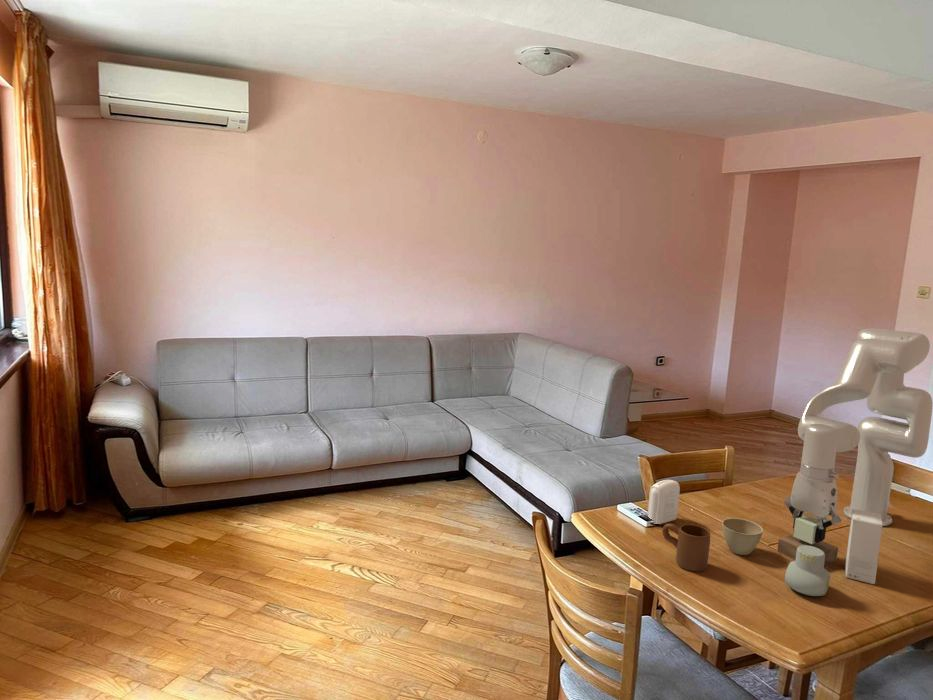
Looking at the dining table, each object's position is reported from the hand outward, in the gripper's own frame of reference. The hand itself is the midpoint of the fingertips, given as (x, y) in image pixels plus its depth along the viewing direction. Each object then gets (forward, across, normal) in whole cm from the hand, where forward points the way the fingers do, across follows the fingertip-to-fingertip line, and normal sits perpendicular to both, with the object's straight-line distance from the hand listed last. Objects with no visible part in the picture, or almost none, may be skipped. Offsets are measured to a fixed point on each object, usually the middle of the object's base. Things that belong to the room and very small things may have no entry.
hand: (808, 536), depth 164 cm
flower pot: (+6, +10, +14) cm, 18 cm away
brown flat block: (+6, 0, 0) cm, 6 cm away
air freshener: (+6, -10, +17) cm, 21 cm away
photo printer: (+6, +33, +18) cm, 38 cm away
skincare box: (+6, -12, -2) cm, 14 cm away
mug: (+6, +13, +33) cm, 36 cm away
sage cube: (+1, 0, 0) cm, 1 cm away
